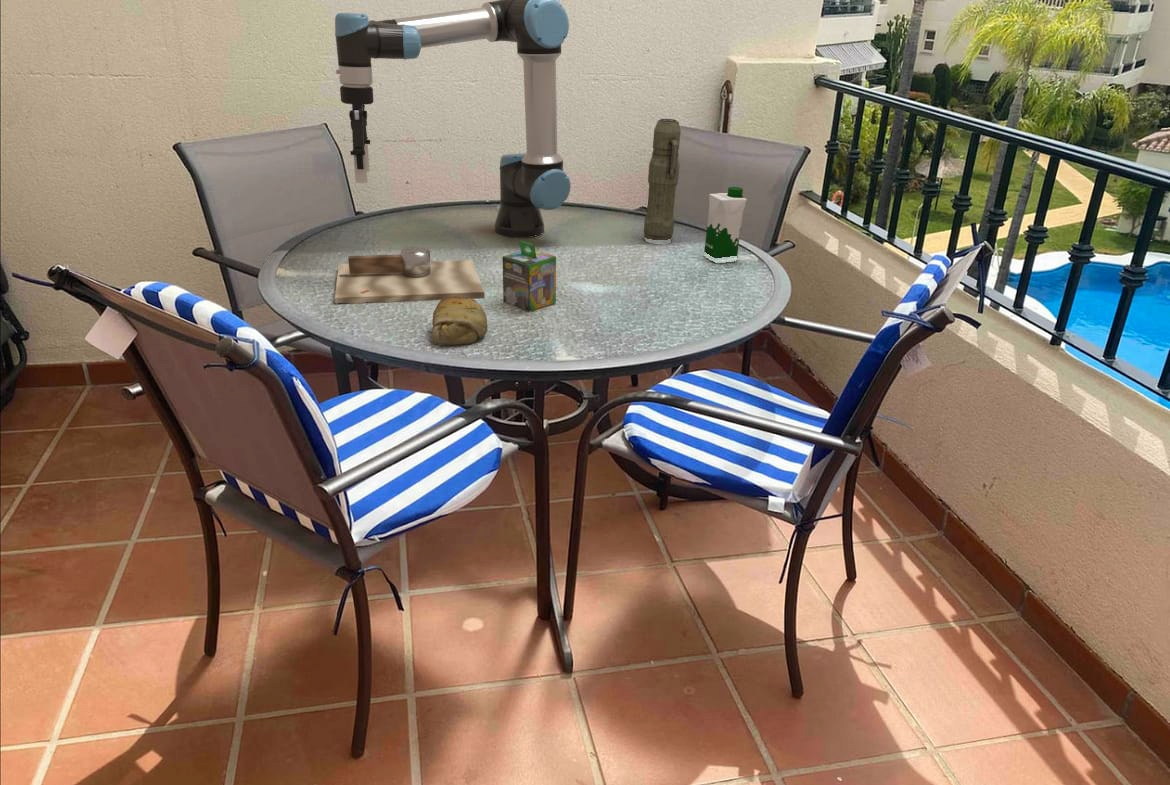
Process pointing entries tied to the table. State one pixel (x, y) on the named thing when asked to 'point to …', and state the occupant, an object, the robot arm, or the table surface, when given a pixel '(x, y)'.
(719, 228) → the milk carton
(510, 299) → the chalk box
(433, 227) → the table surface
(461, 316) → the pastry
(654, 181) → the thermos
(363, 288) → the dial board
